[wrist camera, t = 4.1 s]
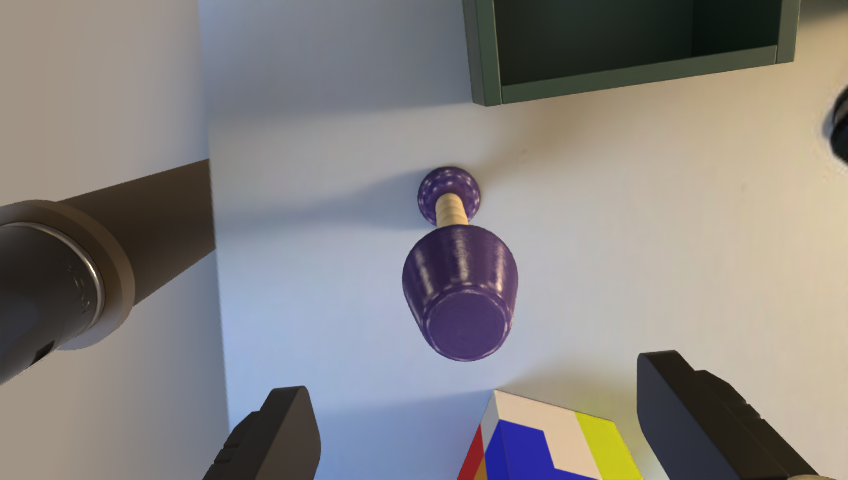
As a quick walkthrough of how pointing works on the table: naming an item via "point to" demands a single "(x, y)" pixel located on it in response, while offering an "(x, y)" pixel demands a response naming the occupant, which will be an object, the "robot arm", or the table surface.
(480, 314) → the toy lamp
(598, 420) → the puzzle toy
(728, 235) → the table surface
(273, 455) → the robot arm
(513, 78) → the bin
